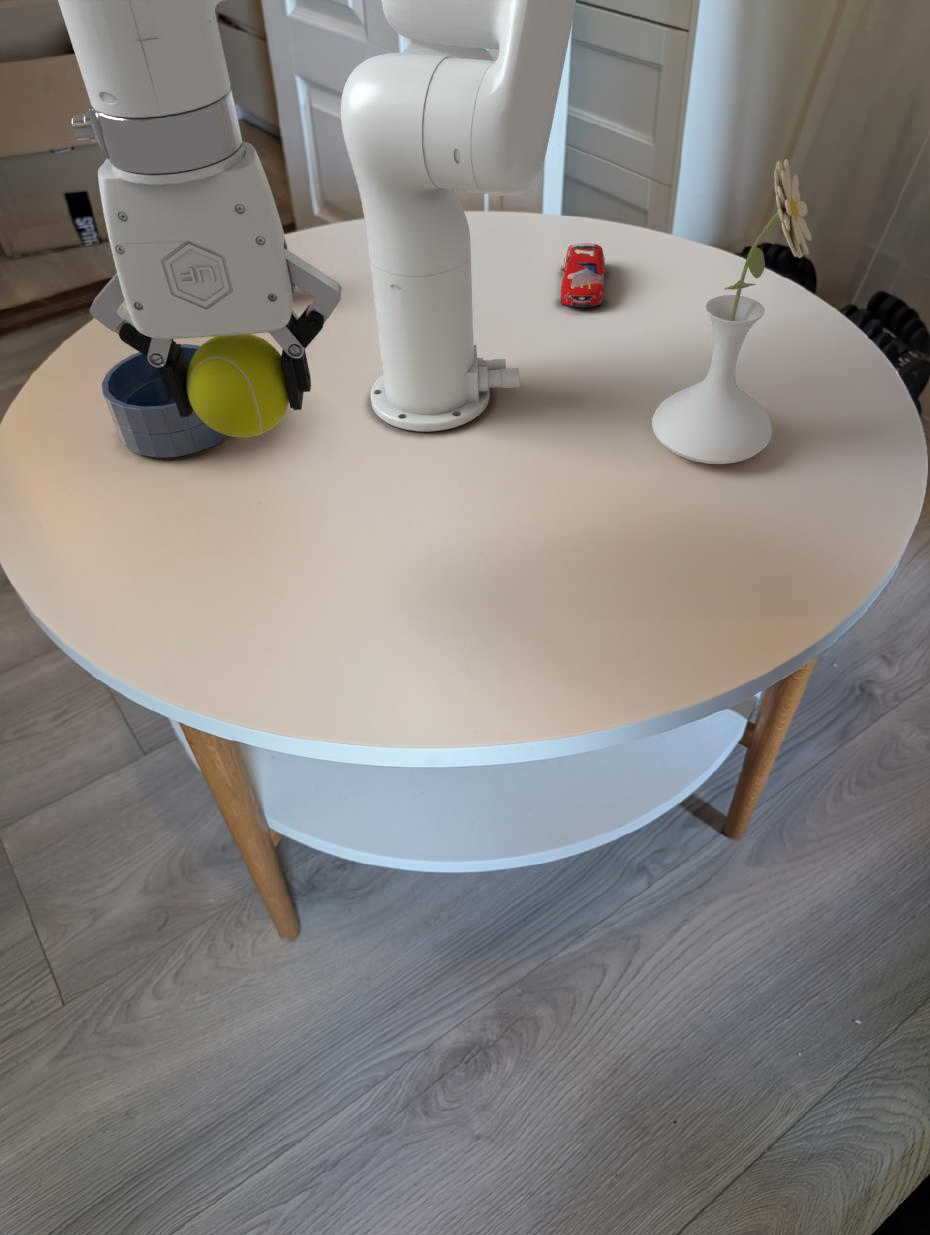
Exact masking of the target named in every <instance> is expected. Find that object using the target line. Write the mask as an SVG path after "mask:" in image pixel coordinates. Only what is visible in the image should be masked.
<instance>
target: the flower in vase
mask: <svg viewBox="0 0 930 1235" xmlns="http://www.w3.org/2000/svg"><path fill="white" fill-rule="evenodd" d="M774 167H775V168H774V172H773V178H774V183H773V184H774V186H773V187H774V191H775V201H776V206H777V209H776V213H774V215H773V216H772V217H771V218H770V220H769V221H768V222H767V224H766V225H765V226H764V228H762V231H760V233H759V235H758V236H757V238H756V239H755V240H754V242H753V244H752V246H751V247H750V250H749V252H748V254H747V258H746V260H745V262H744V265H743V269H742V272H741V275H740V279H739V280H738V281H737V282H735V283H734V284H733V285H729V286H727V287H724V288H723V290H736V293H735V294H725V295H718V296H716V297H713V298H711V299H709V300H708V301H707V302H706V303H705V306H704V307H705V312H706V313H707V315H708V317H709V319H710V322H711V324H712V330H713V347H712V348H713V349H712V357H711V362H710V366H709V370H708V373H707V375H706V377H705V378H704V380H702V381H701V382H698V383H696V384H693V385H690V386H688V387H685V388H683V389H681V390H678V391H675V393H673V394H671V395H670V396H668V397H667V398H666V399H664V400H663V401H662V402H661V403H660V404H659V405H658V407H657V408H656V409H655V411H654V413H653V415H652V418H651V427H652V431H653V433H654V435H655V436H656V438H657V440H658V441H659V443H661V445H662V446H663V447H665V448H666V449H667V450H669V451H670V452H671V453H673V454H674V455H676V456H679V457H681V458H684V459H686V460H690V461H692V462H697V463H701V464H711V465H726V464H727V465H729V464H736V463H740V462H743V461H746V460H749V459H751V458H753V457H754V456H756V455H757V454H759V453H760V452H762V451H763V450H764V449H765V448H766V447H767V446H769V443H770V441H771V439H772V435H773V428H772V423H771V419H770V417H769V414H768V413H767V412H766V410H765V409H764V408H763V407H762V405H760V403H759V402H758V401H757V400H756V399H754V398H753V397H752V396H750V394H748V393H747V392H746V391H745V390H743V389H742V388H740V387H739V386H738V385H737V382H736V368H737V363H738V359H739V355H740V351H741V349H742V346H743V343H744V341H745V340H746V339H745V338H746V336H747V334H748V332H749V331H750V330H751V328H752V327H753V326H754V324H756V322H758V321H759V320H761V319H762V317H763V316H764V315H765V307H764V305H763V304H761V303H760V301H757V300H756V299H754V298H751V297H747V296H744V295H741V294H742V293H741V292H742V289H746V288H749V287H752V286H756V285H757V284H756V283H750V282H749V283H748V282H745V279H746V274H747V272H748V270H749V272H750V273H751V275H752V276H753V277H754V279H759V278H760V277H762V275H763V273H764V271H765V267H766V262H765V254H764V251H763V250H762V249H761V248H759V247H758V245H759V244H760V242H761V241H762V239H764V236H765V235H766V234H767V232H768V231H769V230H770V229H771V227H772V226H773V225H774V223H775V222H776V221H777V220H779V221H780V222H781V228H782V232H783V235H784V238H785V239H786V242H787V244H788V246H789V248H790V251H791V253H792V255H793V256H794V257H795V258H798V259H801V258H803V257H804V255H805V256H810V255H809V253H810V250H809V248H808V245H807V242H806V240H807V241H808V242H812V234H811V232H810V229H809V228H808V225H807V224H808V223H807V221H806V219H805V218H804V217H805V216H806V215H808V206H807V204H806V202H805V201H803V200H801V194H800V190H799V187H800V181H799V177H798V175H797V174H796V173H795V174H793V176H792V178H791V170H790V169H791V168H790V162H789V160H788V158H785V159H784V161H783V163H782V161H781V160H778V161H776V163H775V166H774Z"/></svg>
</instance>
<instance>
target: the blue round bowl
mask: <svg viewBox="0 0 930 1235" xmlns="http://www.w3.org/2000/svg"><path fill="white" fill-rule="evenodd" d="M180 344H181V348H184V350H185V353H186V356H187V359H188V363H189V364H190V361H191V359H192V357H193V355H194V354H195V352H196V351H197V350H198V348H199V347H200V346H201V345H197V344H189V343H183V344H182V343H180ZM101 390H102V395H103V397H104V401H105V404H106V406H107V408H108V411H109V413H110V416H111V419H112V421H113V424H114V427H115V429H116V432H117V434H118V437H119V439H120V441H121V442H122V444H123V445H124V446H125V447H126V448H127V449H128V450H129V451H132V452H134V453H135V454H138V455H141V456H146V457H152V458H159V459H161V458H177V457H183V456H187V455H191V454H195V453H199V452H202V451H204V450H206V449H208V448H211V447H213V446H216V445H217V444H219V443H220V442H221V441H223V440H224V439H226V438H228V437H229V436H228V435H224V434H222V433H219V432H217V431H215V430H213V429H212V428H210V427H209V426H207V425H206V424H205V423H204V422H203V421H202V420H201V419H200V418H199V417H198V416H197V414H196V413H195V411H194V410H193V412H192V415H190V416H189V417H181V416H180V414H179V411H178V408H177V405H176V402H175V400H173V401H170V400H169V399H168V396H167V393H166V390H165V387H164V384H163V381H162V379H161V376H160V373H159V370H158V367H154V366H152V365H151V364H150V363H149V362H148V359H147V357H146V356H145V355H143V354H142V353H140V352H139V351H137V352H136V353H133V354H131V355H129V356H127V357H125V358H124V359H122V360H120V361H119V362H117V363H116V364H114V365H113V366H112V367H111V369H109V370H108V371H107V372H106V374H105V376H104V378H103V380H102V381H101Z"/></svg>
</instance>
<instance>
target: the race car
mask: <svg viewBox="0 0 930 1235" xmlns="http://www.w3.org/2000/svg"><path fill="white" fill-rule="evenodd" d="M604 254H605V253H604V250H603V248H602V246H601V245H599V244H597V243H589V242H585V243H584V242H581V243H579V242H577V243H573V244H571V245H569V246H568V248H567V251H566V253H565V255H564V258H563V267H562V268H561V269H560V271H561V272H562V278H561V279H562V280H561V287H560V304H562V305H565V306H568V307H573V308H592V307H593V308H594V307H597V306H599V305H600V306H601V305H603V298H604V297H603V296H604V288H605V286H604V282H605V281H604V280H605V273H607V269H605V260H606V258H605V255H604Z"/></svg>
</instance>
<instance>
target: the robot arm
mask: <svg viewBox="0 0 930 1235" xmlns="http://www.w3.org/2000/svg"><path fill="white" fill-rule="evenodd" d="M226 1H227V0H57V2H58V5H59V8H60V11H61V14H62V18H63V21H64V24H65V28H66V30H67V33H68V35H69V40H70V43H71V45H72V49H73V51H74V55H75V58H76V62H77V64H78V67H79V70H80V75H81V77H82V80H83V83H84V86H85V90H86V92H87V95H88V99H89V102H90V105H91V106H90V107H89V110H88V111H85V112H84V114H73V115H71V126H72V131H73V133H74V136H75V138H76V140H77V141H78V142H79V143H80V142H82V143H85V142H90V143H92V144H94V145H96V144H98V146H99V149H100V150H101V151H102V154H103V157H104V162H103V163H102V164H101V165H100V166H99V168H98V169H97V179H98V187H99V188H98V189H99V195H100V200H101V206H102V212H103V217H104V223H105V227H106V232H107V237H108V241H109V245H110V249H111V254H112V258H113V262H114V265H115V270H116V272H115V274H114V275H113V276H112V277H111V278H110V280H109V281H108V282H107V283H106V284H105V286H104V287H103V288H102V289H101V290H100V292H99V293H98V294H97V295H96V296H95V297H94V299H93V302H92V304H91V305H90V307H89V313H90V315H91V317H92V318H94V319H95V320H96V321H98V322H99V323H100V324H102V325H103V326H104V327H106V328H107V329H109V331H110V332H112V333H116V334H117V335H118V337H119V339H120V340H121V341H122V342H123V343H124V344H126V345H127V346H129V347H131V348H132V349H133V350H135V351H136V352H140V353H142V354H143V355H145V356H146V357H147V359H148V362H149V363H150V364H151V365H152V366H154V367H158V370H159V373H160V376H161V379H162V381H163V384H164V387H165V390H166V393H167V396H168V399H169V400H170V401H173V400H175V402H176V405H177V408H178V411H179V414H180V416H181V417H189V416H190V415H192V412H193V408H192V406H191V404H190V401H189V398H188V394H187V386H186V377H187V370H188V366H189V363H188V359H187V356H186V353H185V350H184V348H181V344H182V343H177V342H176V341H175V340H177V339H180V340H181V339H195V338H196V339H197V338H211V337H212V338H213V337H215V336H230V335H244V334H252V335H256V334H266V333H268V334H270V335H271V337H272V338H273V339H274V340H275V342H276V343H277V344H278V346H280V347H281V349H282V350H281V354H280V355H281V368H282V372H283V377H284V381H285V386H286V390H287V395H288V399H289V404H288V405H289V407H290V409H292V410H293V411H301V410H302V408H303V400H304V393H308V392H309V393H310V392H311V390H312V379H311V374H310V368H309V363H308V358H307V353H306V349H307V347H308V346H310V344H311V343H312V341H314V340H315V338H316V337H317V336H318V334H319V333H320V332H321V331H322V330H323V328H324V324H325V323H326V322H327V320H328V319H329V318H330V316H332V313H333V312H334V311H335V309H336V308H337V306H338V305H339V303H340V302H341V299H342V290H343V289H342V285H341V284H340V283H339V281H337V280H335V279H334V278H332V277H330V276H328V274H326V273H324V272H323V271H321V270H320V269H318V268H316V267H315V266H313V265H312V264H311V263H309V262H308V261H306V260H304V259H303V258H301V257H299V256H298V255H296V254H295V253H293V252H292V251H290V250H289V246H288V242H287V240H286V236H285V232H284V228H283V225H282V222H281V218H280V215H279V211H278V208H277V204H276V201H275V197H274V195H273V192H272V189H271V185H270V183H269V180H268V177H267V175H266V172H265V170H264V167H263V164H262V162H261V159H260V157H259V155H258V153H257V150H256V148H255V147H254V145H253V144H252V143H250V142H247V141H243V137H242V132H241V128H240V123H239V118H238V114H237V108H236V103H235V99H234V96H233V91H232V90H233V89H232V86H231V81H230V80H231V79H230V76H229V71H228V65H227V62H226V57H225V52H224V47H223V43H222V37H221V34H220V29H219V25H218V24H219V23H218V20H217V15H216V7H217V6H218V4H220V3H221V2H226ZM380 1H381V6H382V12H383V15H384V17H385V19H386V21H387V23H388V25H389V26H390V28H391V29H392V30H394V31H395V32H396V33H397V34H398V35H400V36H401V37H404V38H406V39H408V40H411V41H414V42H419V43H424V44H425V43H426V44H432V45H439V46H447V47H448V46H450V47H461V48H473V49H485V50H498V56H497V59H496V60H489V59H476V58H463V57H454V56H451V55H450V56H449V55H437V54H422V53H412V52H411V53H410V52H390V53H384V54H377V55H375V56H372V57H370V58H367V59H366V60H364V61H363V62H361V63H359V64H358V65H357V66H356V67H354V69H353V70H352V72H350V74H349V76H348V77H347V79H346V81H345V84H344V87H343V90H342V94H341V99H340V123H341V129H342V136H343V140H344V144H345V147H346V151H347V155H348V158H349V161H350V164H351V167H352V171H353V174H354V176H355V177H354V178H355V181H356V184H357V189H358V192H359V193H358V194H359V198H360V201H361V206H362V212H363V217H364V224H365V233H366V240H367V248H368V255H369V256H368V257H369V266H370V274H371V283H372V291H373V300H374V301H373V302H374V309H375V318H376V325H377V327H376V328H377V334H378V344H379V350H380V351H379V354H380V361H381V369H382V374H381V375H380V376H379V377H378V378H377V379H375V381H374V383H373V384H372V386H371V389H370V403H371V408H372V410H373V412H374V413H375V415H376V416H377V417H378V418H379V419H380V420H382V421H383V422H385V423H387V424H388V425H390V426H393V427H395V428H399V429H401V430H402V429H403V430H406V431H413V432H438V431H440V432H441V431H446V430H449V429H454V428H458V427H460V426H463V425H466V424H467V423H469V422H472V421H473V420H475V419H476V418H477V417H479V416H480V415H481V414H482V413H483V412H484V411H485V410H486V408H487V407H488V405H489V403H490V399H491V398H490V397H491V394H490V393H491V392H490V391H491V390H490V388H502V389H506V388H507V389H508V388H509V389H510V388H519V387H520V370H519V367H510V368H508V367H507V364H506V363H507V362H506V361H507V360H506V358H494V359H484V357H478V354H477V353H478V351H477V350H478V349H477V344H475V343H474V314H473V313H474V310H473V307H474V306H473V278H472V276H473V275H472V240H471V230H470V225H469V222H468V219H467V215H466V212H465V210H464V208H463V206H462V204H461V201H460V200H459V197H458V196H457V194H456V192H455V191H459V192H468V193H475V194H484V195H492V196H503V197H504V196H505V197H506V196H507V197H508V196H510V197H511V196H517V195H520V194H522V193H524V192H526V191H527V190H528V189H530V188H531V187H532V186H533V185H534V184H535V182H536V181H537V179H538V177H539V176H540V173H541V171H542V167H543V164H544V162H545V158H546V156H547V155H546V154H547V152H548V147H549V142H550V138H551V132H552V128H553V123H554V118H555V112H556V107H557V102H558V98H559V92H560V87H561V82H562V78H563V72H564V67H565V62H566V56H567V52H568V46H569V42H570V37H571V32H572V26H573V21H574V15H575V7H576V3H577V2H576V1H577V0H380ZM296 287H297V288H298V289H300V290H302V291H303V292H305V293H307V294H308V295H310V296H311V297H312V298H313V299H312V302H311V303H310V304H309V305H308V306H307V307H306V308H305V309H304V310H303V312H302V313H301V315H300V316H299V315H297V313H296V312H295V310H294V309H293V295H294V294H295V290H296ZM124 302H125V305H126V309H125V308H124V307H123V305H122V304H123V303H124Z"/></svg>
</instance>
